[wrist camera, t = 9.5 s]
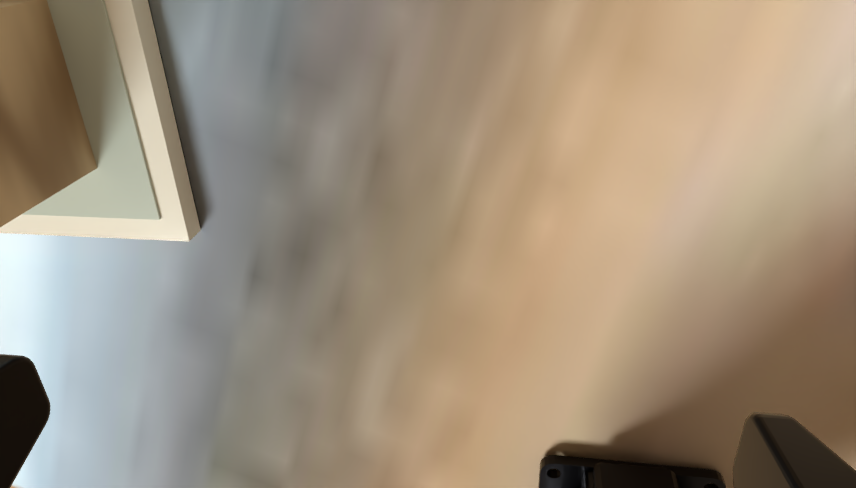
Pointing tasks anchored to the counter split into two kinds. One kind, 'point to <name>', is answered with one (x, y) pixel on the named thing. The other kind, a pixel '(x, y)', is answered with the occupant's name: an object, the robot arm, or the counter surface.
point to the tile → (118, 131)
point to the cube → (36, 111)
